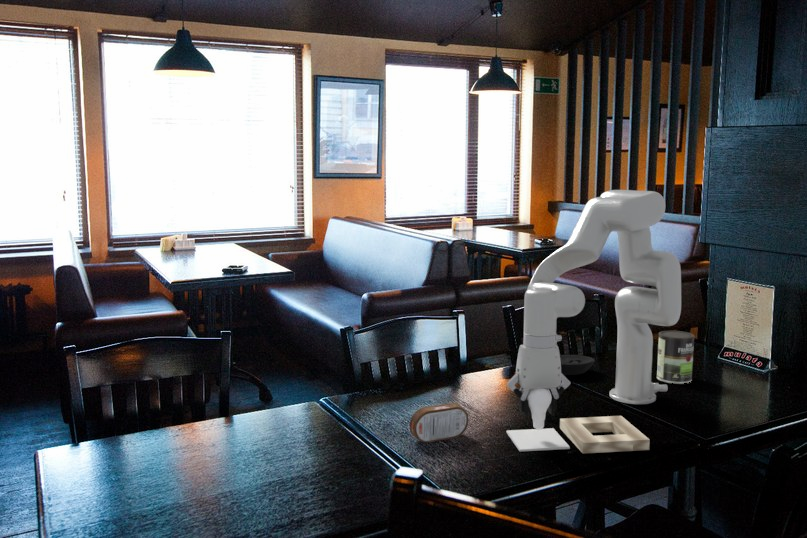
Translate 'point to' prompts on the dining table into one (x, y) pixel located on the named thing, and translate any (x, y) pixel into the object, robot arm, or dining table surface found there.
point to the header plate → (621, 441)
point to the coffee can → (675, 357)
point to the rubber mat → (537, 439)
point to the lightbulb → (538, 405)
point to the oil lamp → (575, 364)
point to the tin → (439, 422)
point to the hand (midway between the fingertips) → (537, 413)
